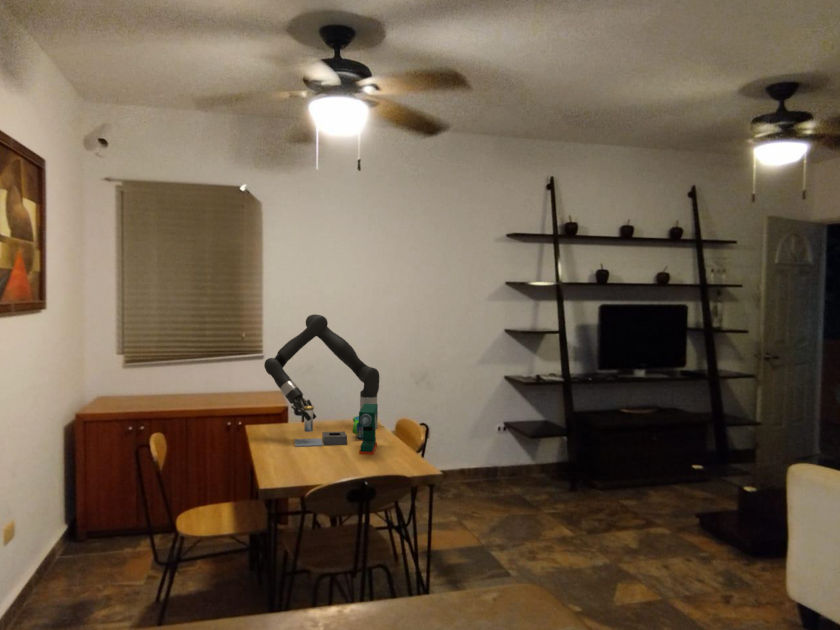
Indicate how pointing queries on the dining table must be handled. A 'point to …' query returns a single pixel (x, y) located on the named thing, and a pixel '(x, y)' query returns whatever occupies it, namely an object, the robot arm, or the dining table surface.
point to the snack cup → (357, 428)
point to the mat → (308, 442)
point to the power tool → (368, 428)
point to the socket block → (334, 438)
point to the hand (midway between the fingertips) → (312, 418)
